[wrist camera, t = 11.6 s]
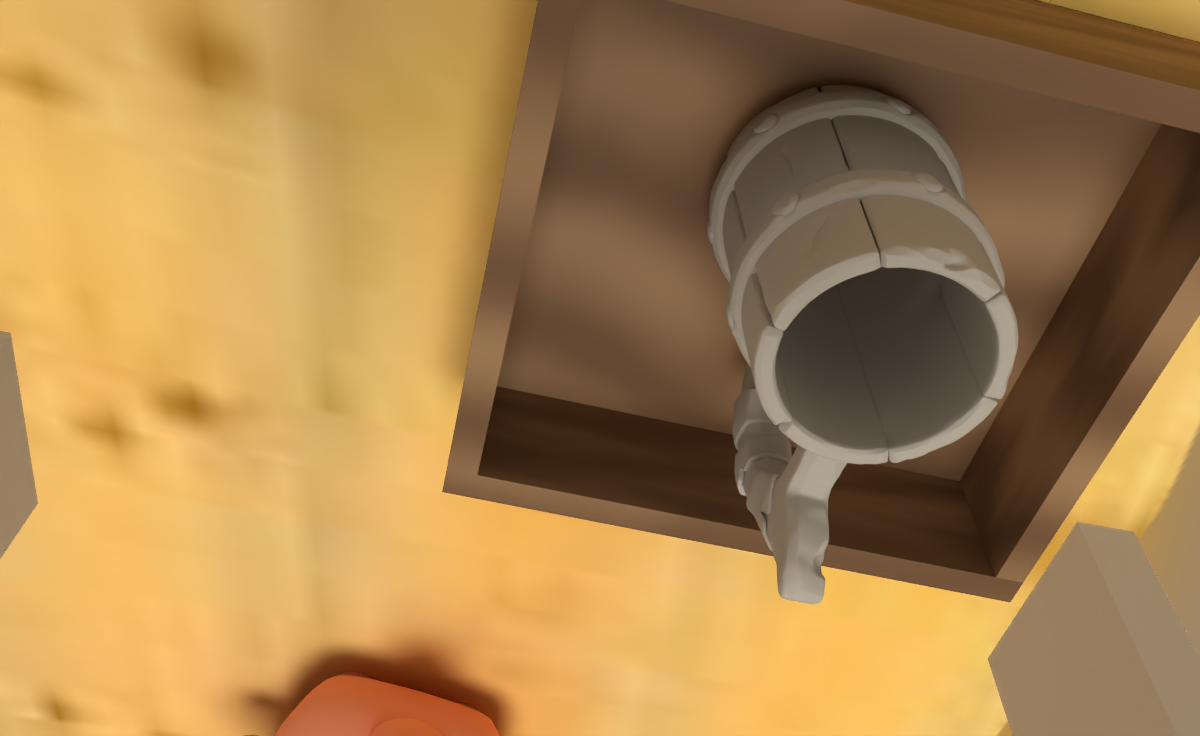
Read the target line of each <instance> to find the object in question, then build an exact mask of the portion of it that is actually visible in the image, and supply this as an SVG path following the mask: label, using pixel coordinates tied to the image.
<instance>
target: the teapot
mask: <svg viewBox="0 0 1200 736" xmlns="http://www.w3.org/2000/svg"><path fill="white" fill-rule="evenodd" d="M245 736H258V735H245ZM275 736H500V735H499V733H498V731H497V729H496V727H495V725H494V724H493V722H492V720H491V719H490V718H489V717H488V716H486V715H484V714H483V713H481V712H479V711H478V710H477V709H476V708H474V707H473V706H471V705H468V704H464V703H455V702H452V701H449V700H446V699H443V698H440V697H437V696H434V695H430V694H427V693H424V692H420V691H417V690H413V689H410V688H406V687H402V686H398V685H394V684H390V683H386V682H382V681H378V680H374V679H370V678H369V677H368V676H366V675H364V674H361V673H357V672H343V673H340V674H338V675H336V676H334V677H331V678H328V679H326V680H325V681H323V682H322V683H320V684H319V685H318V686H317V687H315V688H314V689H313V690H312V691H311V692H310V693H309V694H308V695H307V696H306V697H305V698H304V699H303V700H302V701H301V702H300V703H299V705H298V706H297V707H296V708H295V709H294V710H293V711H292V713H291V714H290V715H289V716H288V717H287V718H286V720H285V721H284V722H283V724H282V725H281V726H280V728H279V729H278V731H277V732H276V734H275Z"/></svg>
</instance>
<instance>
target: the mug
mask: <svg viewBox="0 0 1200 736" xmlns="http://www.w3.org/2000/svg"><path fill="white" fill-rule="evenodd" d="M707 234H708V238H709V241H710V243H712V245H713V250H714V253H715V256H716V259H717V262H718V264H719V266H720V268H721V270H722V272H723V274H724V276H725V277H726V279H727V280H728V282H729V283H730V284H729V293H728V300H729V301H728V302H727V304H726V316H727V321H728V324H729V327H730V329H731V330H732V334H733V336H734V338H735V340H736V342H737V345H738V347H739V349H740V351H741V353H742V355H743V357H744V358H745V360H746V361H747V363H748V364H747V366H746V368H745V373H744V379H743V383H742V388H741V394H740V395H739V396H738V397H737V399H736V401H735V403H734V420H733V425H732V432H733V438H734V444H735V447H736V449H737V450H738V453H737V454H736V456H735V467H734V471H735V480H736V484H737V488H738V490H739V492H740V494H741V495H744V496H746V497H747V501H746V505H747V508H748V510H749V511H750V512H751V513H752V514H753V515H754V517H755V519H756V521H757V524H758V526H759V528H760V530H761V532H762V534H763V536H764V539H765V541H766V543H767V545H768V547H769V549H770V550H771V551H773V555H774V558H775V561H776V564H777V581H778V591H779V594H780V596H781V597H782V598H783V599H787V600H792V601H797V602H803V603H808V604H816V603H820V602H821V601H822V598H823V595H824V587H825V578H824V576H823V575H822V572H821V565H822V562H823V559H824V552H825V549H826V547H827V545H828V542H829V522H828V498H829V494H830V491H831V488H832V487H833V485H834V483H835V482H836V480H837V479H838V477H839V476H840V474H841V472H842V470H843V469H844V467H845V466H846V464H847V463H853V464H880V463H885V462H887V461H888V457H889V460H890V461H891V462H893V463H899V462H901V461H904V460H906V459H914V458H917V457H920V456H923V455H925V454H927V453H929V452H931V451H933V450H936V449H938V448H941V447H943V446H946V445H948V444H951V443H953V442H955V441H956V440H958V439H960V438H961V437H963V436H964V435H966V434H967V433H968V432H970V431H971V430H972V429H973V428H975V427H976V426H977V425H978V424H979V423H981V422H982V421H983V420H984V419H985V418H986V417H987V416H988V415H989V414H990V413H991V411H992V410H993V409H994V408H995V406H996V405H997V400H996V399H1002V397H1003V396H1004V394H1005V391H1006V387H1007V383H1008V379H1009V376H1010V374H1011V372H1012V368H1013V363H1014V360H1015V355H1016V352H1017V348H1018V326H1017V320H1016V316H1015V313H1014V310H1013V307H1012V305H1011V303H1010V300H1009V298H1008V296H1007V294H1006V292H1005V290H1004V286H1005V277H1004V271H1003V268H1002V265H1001V262H1000V259H999V255H998V252H997V249H996V246H995V244H994V242H993V239H992V237H991V235H990V234H989V232H988V230H987V229H986V227H985V225H984V224H983V222H982V220H981V219H980V217H979V216H978V214H977V213H976V212H975V211H974V209H973V208H972V207H971V206H970V205H969V204H968V203H967V196H966V193H965V187H964V181H963V176H962V173H961V169H960V166H959V164H958V161H957V159H956V157H955V154H954V152H953V150H952V148H951V147H950V145H949V143H948V142H947V140H946V138H945V137H944V136H943V134H942V133H941V132H940V131H939V129H938V128H937V127H936V126H935V125H934V124H933V123H932V122H931V121H930V120H929V119H928V118H927V117H926V116H924V115H923V114H922V113H921V112H919V111H918V110H916V109H915V108H913V107H912V106H910V105H908V104H906V103H905V102H903V101H902V100H899V99H896V98H893V97H891V96H888V95H885V94H883V93H881V92H878V91H876V90H873V89H869V88H865V87H859V86H853V85H827V86H822V87H821V92H819V90H818V89H817V87H814V88H810V89H806V90H804V91H802V92H800V93H798V94H795V95H793V96H790V97H788V98H786V99H784V100H782V101H780V102H779V103H777V104H775V105H773V106H771V107H769V108H767V109H766V110H764V111H763V112H761V113H760V114H758V115H757V116H756V117H755V118H753V119H752V120H751V121H750V122H749V123H748V124H747V125H746V126H745V127H744V128H743V130H742V131H741V132H740V133H739V134H738V136H737V137H736V139H735V140H734V142H733V143H732V145H731V147H730V149H729V151H728V152H727V159H726V160H725V162H724V163H723V164H722V166H721V168H720V170H719V174H718V176H717V178H716V180H715V182H714V185H713V188H712V191H711V195H710V203H709V220H708V223H707ZM788 438H789V439H790V440H792V441H793V442H795V443H796V444H798V445H797V447H796V450H795V452H794V454H793V456H792V452H791V444H790V442H789V441H788Z"/></svg>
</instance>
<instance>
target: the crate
mask: <svg viewBox="0 0 1200 736" xmlns="http://www.w3.org/2000/svg"><path fill="white" fill-rule="evenodd" d="M827 85H853V86H859V87H865V88H869V89H873V90H876V91H878V92H881V93H883V94H885V95H888V96H891V97H893V98H896V99H899V100H902V101H903V102H905V103H906V104H908V105H910V106H912V107H913V108H915V109H916V110H918V111H919V112H921V113H922V114H923V115H924V116H926V117H927V118H928V119H929V120H930V121H931V122H932V123H933V124H934V125H935V126H936V127H937V128H938V129H939V131H940V132H941V133H942V134H943V136H944V137H945V138H946V140H947V142H948V143H949V145H950V147H951V148H952V150H953V152H954V154H955V157H956V159H957V161H958V164H959V166H960V169H961V173H962V176H963V181H964V187H965V193H966V196H967V203H968V204H969V205H970V206H971V207H972V208H973V209H974V211H975V212H976V213H977V214H978V216H979V217H980V219H981V220H982V222H983V224H984V225H985V227H986V229H987V230H988V232H989V234H990V235H991V237H992V239H993V242H994V244H995V246H996V249H997V252H998V255H999V259H1000V262H1001V265H1002V268H1003V271H1004V277H1005V286H1004V290H1005V292H1006V294H1007V296H1008V298H1009V300H1010V303H1011V305H1012V307H1013V310H1014V313H1015V316H1016V320H1017V326H1018V348H1017V352H1016V355H1015V360H1014V363H1013V368H1012V372H1011V374H1010V376H1009V379H1008V383H1007V387H1006V391H1005V394H1004V396H1003V397H1002V399H996V400H997V405H996V406H995V408H994V409H993V410H992V411H991V413H990V414H989V415H988V416H987V417H986V418H985V419H984V420H983V421H982V422H981V423H979V424H978V425H977V426H976V427H975V428H973V429H972V430H971V431H970V432H968V433H967V434H966V435H964V436H963V437H961V438H960V439H958V440H956V441H955V442H953V443H951V444H948V445H946V446H943V447H941V448H938V449H936V450H933V451H931V452H929V453H927V454H925V455H923V456H920V457H917V458H914V459H906V460H904V461H901V462H899V463H893V462H891V461H890V460H889V457H888V461H887V462H885V463H880V464H853V463H847V464H846V466H845V467H844V469H843V470H842V472H841V474H840V476H839V477H838V479H837V480H836V482H835V483H834V485H833V487H832V488H831V491H830V494H829V498H828V522H829V542H828V545H827V547H826V549H825V552H824V559H823V562H822V565H821V566H826V567H831V568H836V569H842V570H847V571H852V572H857V573H862V574H867V575H872V576H878V577H883V578H888V579H893V580H898V581H903V582H908V583H914V584H919V585H924V586H929V587H934V588H939V589H945V590H950V591H955V592H960V593H965V594H970V595H975V596H981V597H986V598H991V599H996V600H1001V601H1006V602H1011V600H1012V599H1013V597H1014V596H1015V594H1016V593H1017V591H1018V590H1019V588H1020V587H1021V585H1022V584H1023V582H1024V581H1025V579H1026V578H1027V576H1028V575H1029V573H1030V571H1031V570H1032V568H1033V567H1034V565H1035V564H1036V562H1037V561H1038V559H1039V558H1040V556H1041V555H1042V553H1043V552H1044V550H1045V549H1046V547H1047V546H1048V544H1049V543H1050V541H1051V540H1052V538H1053V537H1054V535H1055V534H1056V532H1057V531H1058V529H1059V528H1060V526H1061V524H1062V523H1063V521H1064V520H1065V518H1066V517H1067V515H1068V514H1069V512H1070V511H1071V509H1072V508H1073V506H1074V505H1075V503H1076V502H1077V500H1078V499H1079V497H1080V496H1081V494H1082V493H1083V491H1084V490H1085V488H1086V487H1087V485H1088V484H1089V482H1090V480H1091V479H1092V477H1093V476H1094V474H1095V473H1096V471H1097V470H1098V468H1099V467H1100V465H1101V464H1102V462H1103V461H1104V459H1105V458H1106V456H1107V455H1108V453H1109V452H1110V450H1111V449H1112V447H1113V446H1114V444H1115V443H1116V441H1117V440H1118V438H1119V436H1120V435H1121V433H1122V432H1123V430H1124V429H1125V427H1126V426H1127V424H1128V423H1129V421H1130V420H1131V418H1132V417H1133V415H1134V414H1135V412H1136V411H1137V409H1138V408H1139V406H1140V405H1141V403H1142V402H1143V400H1144V399H1145V397H1146V396H1147V394H1148V392H1149V391H1150V389H1151V388H1152V386H1153V385H1154V383H1155V382H1156V380H1157V379H1158V377H1159V376H1160V374H1161V373H1162V371H1163V370H1164V368H1165V367H1166V365H1167V364H1168V362H1169V361H1170V359H1171V358H1172V356H1173V355H1174V353H1175V352H1176V350H1177V349H1178V347H1179V345H1180V344H1181V342H1182V341H1183V339H1184V338H1185V336H1186V335H1187V333H1188V332H1189V330H1190V329H1191V327H1192V326H1193V324H1194V323H1195V321H1196V320H1197V318H1198V317H1199V315H1200V42H1196V41H1192V40H1188V39H1184V38H1180V37H1176V36H1173V35H1169V34H1165V33H1161V32H1157V31H1153V30H1149V29H1145V28H1142V27H1138V26H1134V25H1130V24H1126V23H1122V22H1118V21H1114V20H1111V19H1107V18H1103V17H1099V16H1095V15H1091V14H1087V13H1083V12H1080V11H1076V10H1072V9H1068V8H1064V7H1060V6H1056V5H1052V4H1049V3H1045V2H1041V1H1037V0H538V4H537V9H536V14H535V19H534V25H533V30H532V35H531V40H530V45H529V50H528V55H527V60H526V66H525V71H524V76H523V81H522V86H521V91H520V96H519V101H518V107H517V112H516V117H515V122H514V127H513V132H512V137H511V143H510V148H509V153H508V158H507V163H506V168H505V173H504V178H503V184H502V189H501V194H500V199H499V204H498V209H497V214H496V219H495V225H494V230H493V235H492V240H491V245H490V250H489V255H488V261H487V266H486V271H485V276H484V281H483V286H482V291H481V296H480V302H479V307H478V312H477V317H476V322H475V327H474V332H473V337H472V343H471V348H470V353H469V358H468V363H467V368H466V373H465V379H464V384H463V389H462V394H461V399H460V404H459V409H458V414H457V420H456V425H455V430H454V435H453V440H452V445H451V450H450V455H449V461H448V466H447V471H446V476H445V481H444V486H443V491H442V492H445V493H451V494H456V495H461V496H466V497H471V498H476V499H481V500H487V501H492V502H497V503H502V504H507V505H512V506H517V507H523V508H528V509H533V510H538V511H543V512H548V513H553V514H559V515H564V516H569V517H574V518H579V519H584V520H589V521H595V522H600V523H605V524H610V525H615V526H620V527H625V528H631V529H636V530H641V531H646V532H651V533H656V534H662V535H667V536H672V537H677V538H682V539H687V540H692V541H698V542H703V543H708V544H713V545H718V546H723V547H728V548H734V549H739V550H744V551H749V552H754V553H759V554H764V555H770V556H774V555H773V551H771V550H770V549H769V547H768V545H767V543H766V541H765V539H764V536H763V534H762V532H761V530H760V528H759V526H758V524H757V521H756V519H755V517H754V515H753V514H752V513H751V512H750V511H749V510H748V508H747V505H746V501H747V497H746V496H744V495H741V494H740V492H739V490H738V488H737V484H736V480H735V471H734V467H735V456H736V454H737V453H738V450H737V449H736V447H735V444H734V438H733V432H732V425H733V420H734V403H735V401H736V399H737V397H738V396H739V395H740V394H741V388H742V383H743V379H744V373H745V368H746V366H747V364H748V363H747V361H746V360H745V358H744V357H743V355H742V353H741V351H740V349H739V347H738V345H737V342H736V340H735V338H734V336H733V334H732V330H731V329H730V327H729V324H728V321H727V316H726V304H727V302H728V301H729V300H728V293H729V284H730V283H729V282H728V280H727V279H726V277H725V276H724V274H723V272H722V270H721V268H720V266H719V264H718V262H717V259H716V256H715V253H714V250H713V245H712V243H710V241H709V238H708V234H707V223H708V220H709V203H710V195H711V191H712V188H713V185H714V182H715V180H716V178H717V176H718V174H719V170H720V168H721V166H722V164H723V163H724V162H725V160H726V159H727V152H728V151H729V149H730V147H731V145H732V143H733V142H734V140H735V139H736V137H737V136H738V134H739V133H740V132H741V131H742V130H743V128H744V127H745V126H746V125H747V124H748V123H749V122H750V121H751V120H752V119H753V118H755V117H756V116H757V115H758V114H760V113H761V112H763V111H764V110H766V109H767V108H769V107H771V106H773V105H775V104H777V103H779V102H780V101H782V100H784V99H786V98H788V97H790V96H793V95H795V94H798V93H800V92H802V91H804V90H806V89H810V88H814V87H817V89H818V90H819V92H821V87H822V86H827ZM788 441H789V442H790V444H791V452H792V456H793V454H794V452H795V450H796V447H797V445H798V444H796V443H795V442H793V441H792V440H790V439H789V438H788Z"/></svg>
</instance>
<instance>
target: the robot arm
mask: <svg viewBox="0 0 1200 736" xmlns="http://www.w3.org/2000/svg"><path fill="white" fill-rule="evenodd" d="M37 504H38V501H37V495H36V489H35V483H34V476H33V470H32V464H31V458H30V451H29V445H28V439H27V433H26V426H25V420H24V414H23V407H22V401H21V395H20V389H19V382H18V376H17V370H16V364H15V357H14V351H13V345H12V338H11V333H8V332H3V331H0V558H1V557H2V556H3V554H4V553H5V551H6V550H7V548H8V547H9V545H10V544H11V542H12V541H13V539H14V538H15V536H16V535H17V533H18V532H19V530H20V529H21V527H22V526H23V524H24V523H25V521H26V520H27V518H28V517H29V515H30V514H31V513H32V511H33V510H34V508H35V507H36V505H37ZM988 661H989V664H990V667H991V670H992V673H993V676H994V679H995V682H996V686H997V689H998V692H999V695H1000V698H1001V701H1002V704H1003V707H1004V710H1005V713H1006V716H1007V719H1008V723H1009V726H1010V729H1011V732H1012V735H1013V736H1200V657H1199V655H1198V653H1197V651H1196V649H1195V647H1194V646H1193V644H1192V642H1191V640H1190V638H1189V636H1188V634H1187V632H1186V630H1185V628H1184V626H1183V624H1182V623H1181V621H1180V619H1179V617H1178V615H1177V613H1176V611H1175V609H1174V607H1173V605H1172V604H1171V602H1170V600H1169V598H1168V596H1167V594H1166V592H1165V590H1164V588H1163V586H1162V584H1161V583H1160V581H1159V579H1158V577H1157V575H1156V573H1155V571H1154V569H1153V567H1152V566H1151V564H1150V562H1149V560H1148V558H1147V556H1146V554H1145V552H1144V550H1143V548H1142V547H1141V545H1140V543H1139V541H1138V539H1137V537H1136V535H1135V533H1134V532H1131V531H1125V530H1120V529H1114V528H1109V527H1103V526H1097V525H1092V524H1086V523H1080V522H1077V523H1076V525H1075V526H1074V528H1073V529H1072V531H1071V532H1070V534H1069V536H1068V537H1067V539H1066V540H1065V542H1064V543H1063V545H1062V546H1061V548H1060V549H1059V551H1058V552H1057V554H1056V555H1055V557H1054V558H1053V560H1052V561H1051V563H1050V565H1049V566H1048V568H1047V569H1046V571H1045V572H1044V574H1043V575H1042V577H1041V578H1040V580H1039V581H1038V583H1037V584H1036V586H1035V587H1034V589H1033V590H1032V592H1031V594H1030V595H1029V597H1028V598H1027V600H1026V601H1025V603H1024V604H1023V606H1022V607H1021V609H1020V610H1019V612H1018V613H1017V615H1016V616H1015V618H1014V619H1013V621H1012V623H1011V624H1010V626H1009V627H1008V629H1007V630H1006V632H1005V633H1004V635H1003V636H1002V638H1001V639H1000V641H999V642H998V644H997V645H996V647H995V649H994V650H993V652H992V653H991V655H990V656H989V658H988Z"/></svg>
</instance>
